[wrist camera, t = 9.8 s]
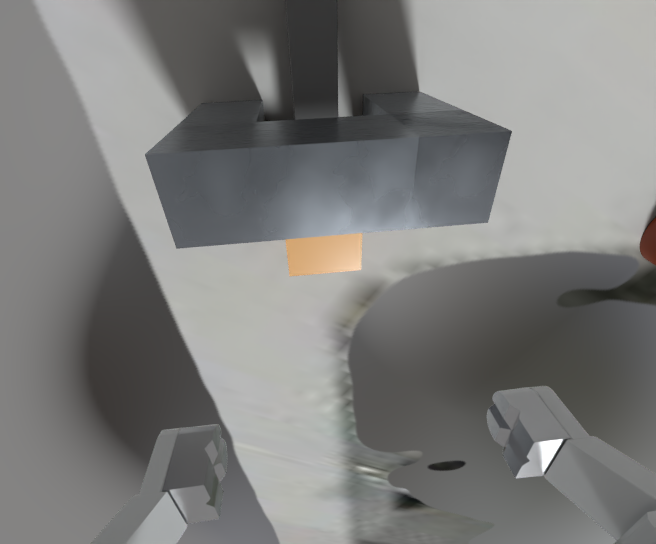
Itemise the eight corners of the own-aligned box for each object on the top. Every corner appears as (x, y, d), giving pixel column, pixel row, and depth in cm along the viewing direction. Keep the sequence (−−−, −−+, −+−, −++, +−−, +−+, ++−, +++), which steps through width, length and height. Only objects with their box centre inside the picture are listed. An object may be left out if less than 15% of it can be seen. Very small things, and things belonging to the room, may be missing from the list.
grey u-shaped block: (201, 103, 21) (145, 154, 12) (419, 91, 22) (511, 131, 13) (215, 166, 24) (176, 248, 15) (412, 153, 25) (487, 222, 16)
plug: (259, -29, 18) (253, -47, 14) (352, -31, 19) (372, -49, 15) (288, 240, 28) (289, 276, 24) (349, 235, 28) (361, 270, 24)
